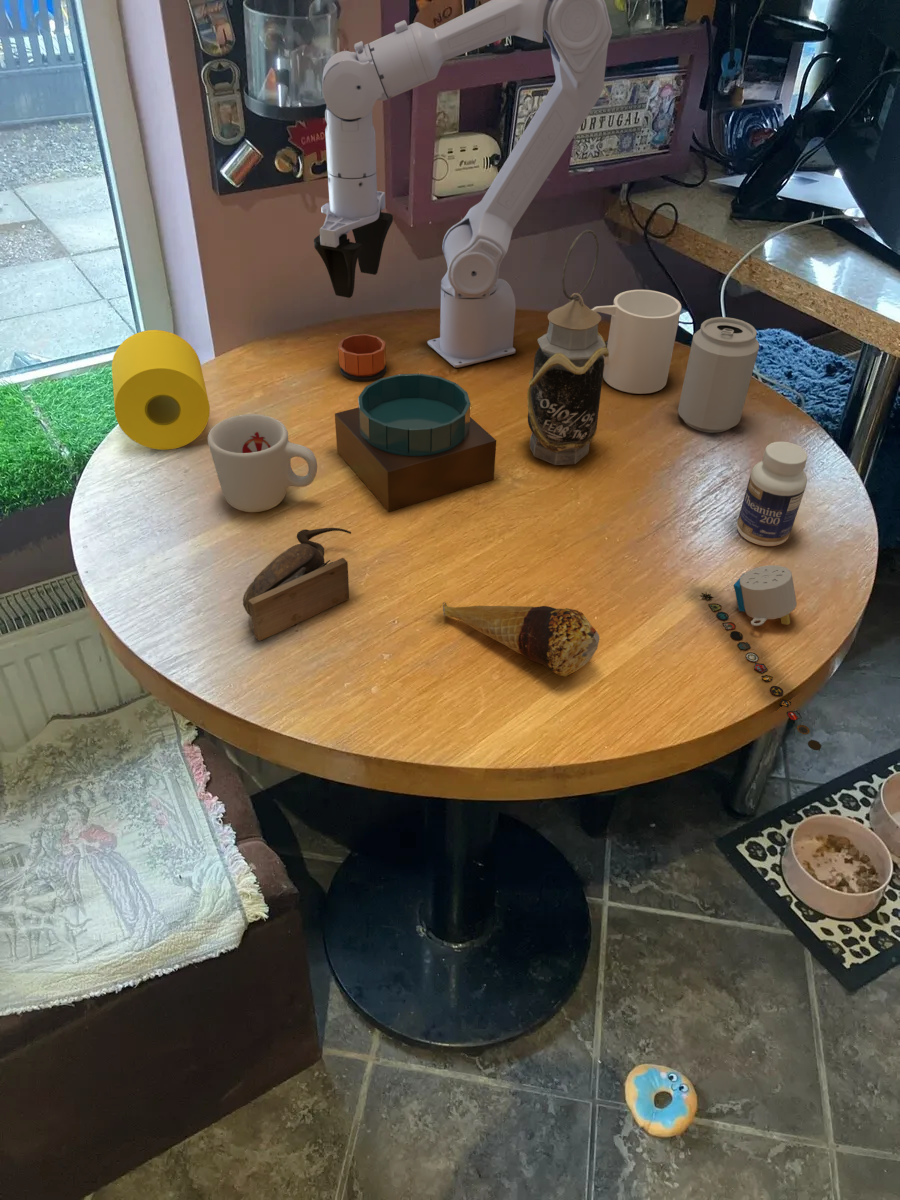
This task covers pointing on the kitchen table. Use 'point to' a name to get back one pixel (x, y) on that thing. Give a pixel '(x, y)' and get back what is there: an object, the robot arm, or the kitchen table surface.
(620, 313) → the cup
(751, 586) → the electric motor
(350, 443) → the stand
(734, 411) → the can
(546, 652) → the ice cream cone
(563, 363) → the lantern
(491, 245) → the robot arm
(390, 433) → the big bowl
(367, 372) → the small bowl
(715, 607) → the bead strand
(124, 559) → the kitchen table surface
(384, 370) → the coaster
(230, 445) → the cup
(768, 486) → the pill bottle
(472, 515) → the kitchen table surface
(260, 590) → the figurine
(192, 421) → the tape roll
